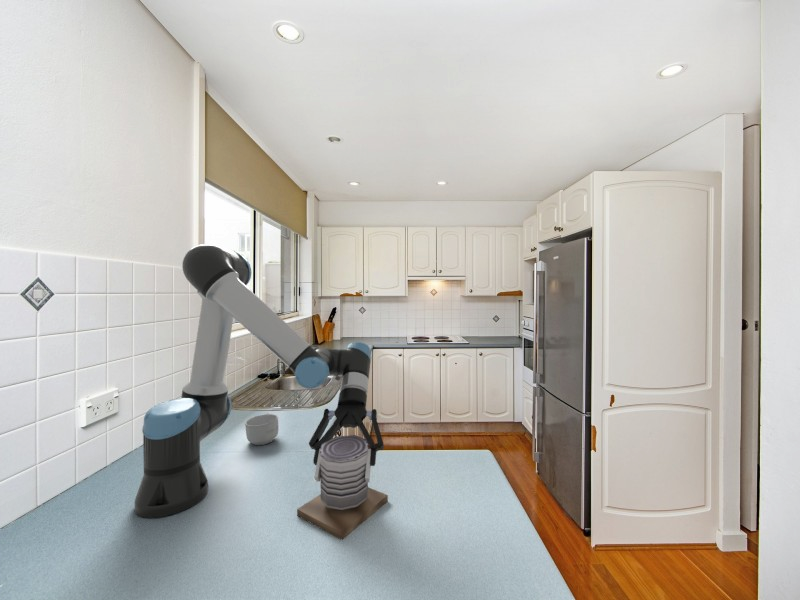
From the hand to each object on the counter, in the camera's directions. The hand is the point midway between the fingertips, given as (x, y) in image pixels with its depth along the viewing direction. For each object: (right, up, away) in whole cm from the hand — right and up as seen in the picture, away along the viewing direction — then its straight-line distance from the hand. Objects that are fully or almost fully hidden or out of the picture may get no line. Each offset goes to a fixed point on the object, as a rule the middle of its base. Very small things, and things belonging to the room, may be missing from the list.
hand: (342, 480), depth 77 cm
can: (0, -5, +3) cm, 6 cm away
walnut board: (0, -8, +3) cm, 9 cm away
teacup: (-35, -8, +42) cm, 55 cm away
